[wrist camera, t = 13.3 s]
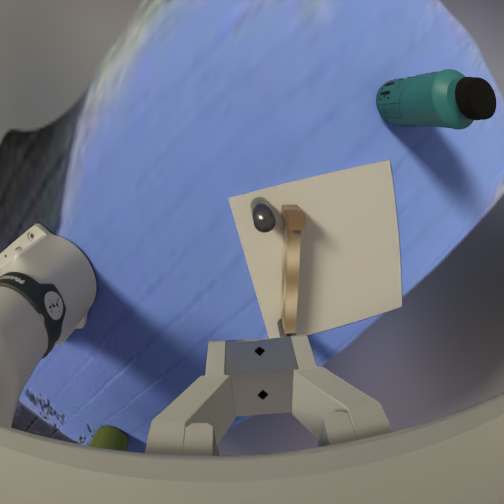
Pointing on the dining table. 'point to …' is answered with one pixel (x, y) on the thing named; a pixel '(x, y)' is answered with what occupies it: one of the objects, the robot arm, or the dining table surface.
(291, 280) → the gate
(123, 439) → the plant pot
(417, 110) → the beverage bottle
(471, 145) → the dining table surface
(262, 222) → the post
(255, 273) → the mat
